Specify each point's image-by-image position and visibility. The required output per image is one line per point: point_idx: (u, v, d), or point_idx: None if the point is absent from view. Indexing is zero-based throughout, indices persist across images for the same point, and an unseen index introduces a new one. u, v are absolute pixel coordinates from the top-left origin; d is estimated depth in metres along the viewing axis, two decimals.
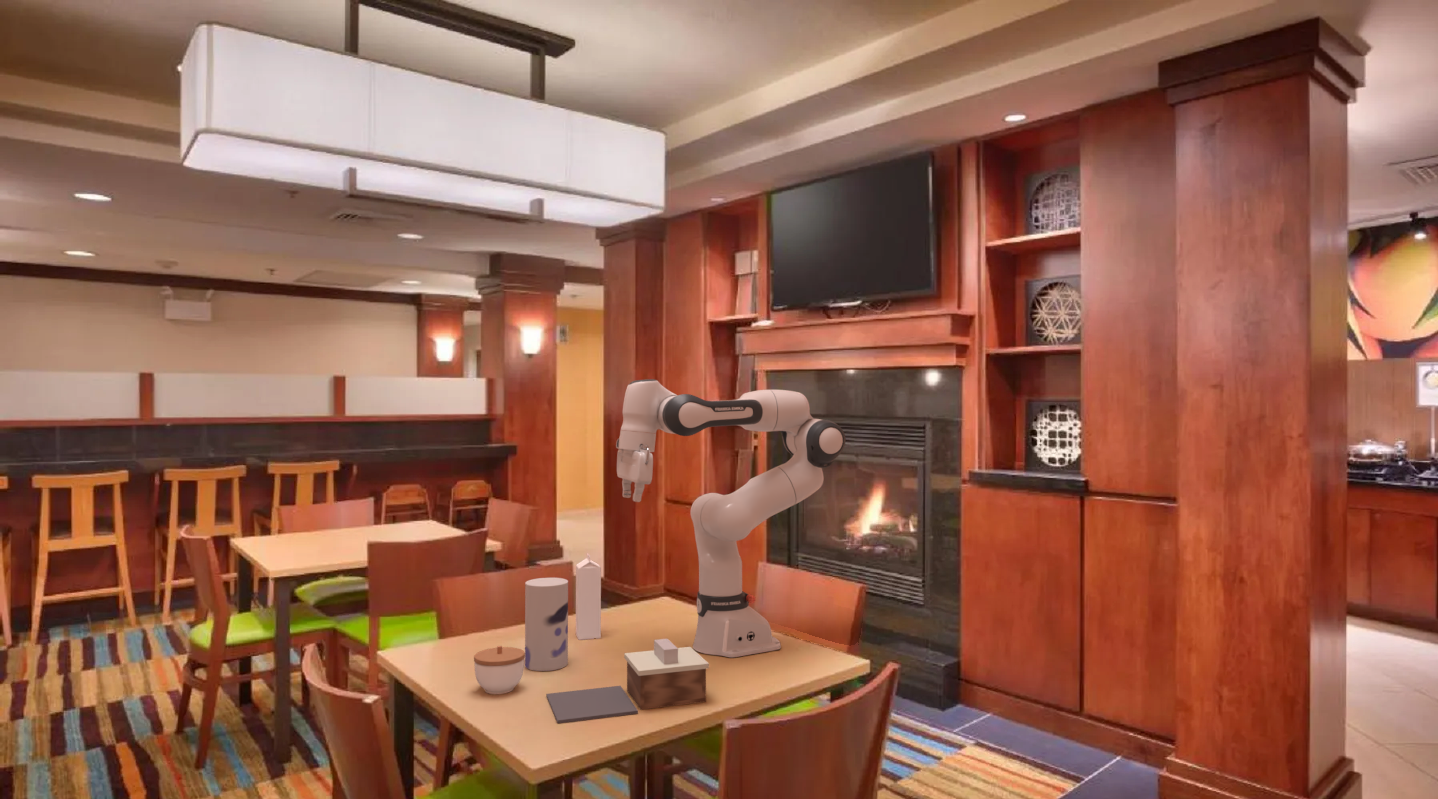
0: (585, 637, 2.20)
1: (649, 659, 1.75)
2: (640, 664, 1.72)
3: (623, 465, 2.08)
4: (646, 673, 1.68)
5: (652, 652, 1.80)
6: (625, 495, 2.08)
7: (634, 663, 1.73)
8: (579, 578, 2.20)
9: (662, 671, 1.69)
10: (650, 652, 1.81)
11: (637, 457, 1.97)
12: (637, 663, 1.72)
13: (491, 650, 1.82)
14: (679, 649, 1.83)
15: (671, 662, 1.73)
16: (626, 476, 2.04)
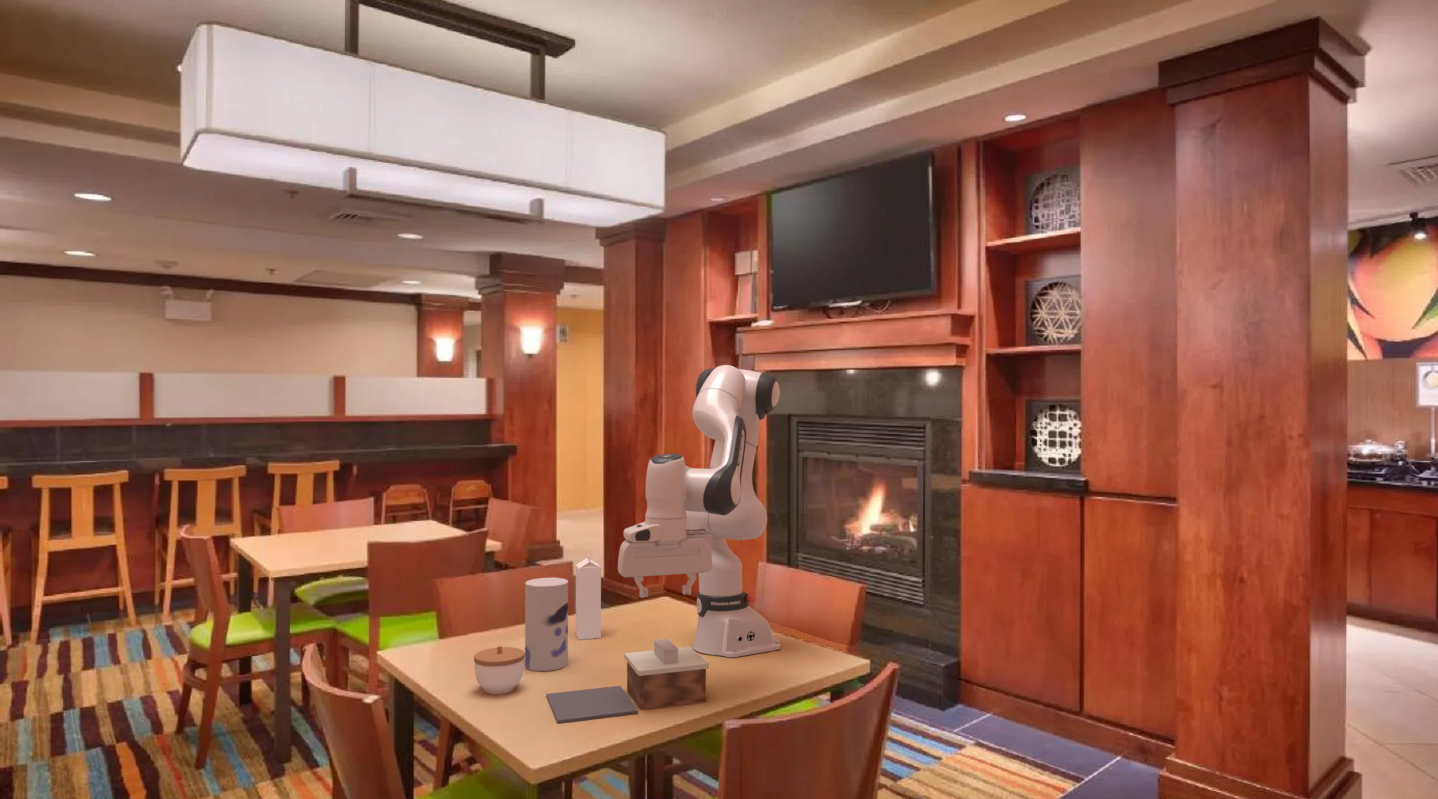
0: (585, 637, 2.20)
1: (649, 659, 1.75)
2: (640, 664, 1.72)
3: (648, 560, 1.73)
4: (646, 673, 1.68)
5: (652, 652, 1.80)
6: None
7: (634, 663, 1.73)
8: (579, 578, 2.20)
9: (662, 671, 1.69)
10: (650, 652, 1.81)
11: (702, 544, 1.77)
12: (637, 663, 1.72)
13: (491, 650, 1.82)
14: (679, 649, 1.83)
15: (671, 662, 1.73)
16: (667, 570, 1.75)
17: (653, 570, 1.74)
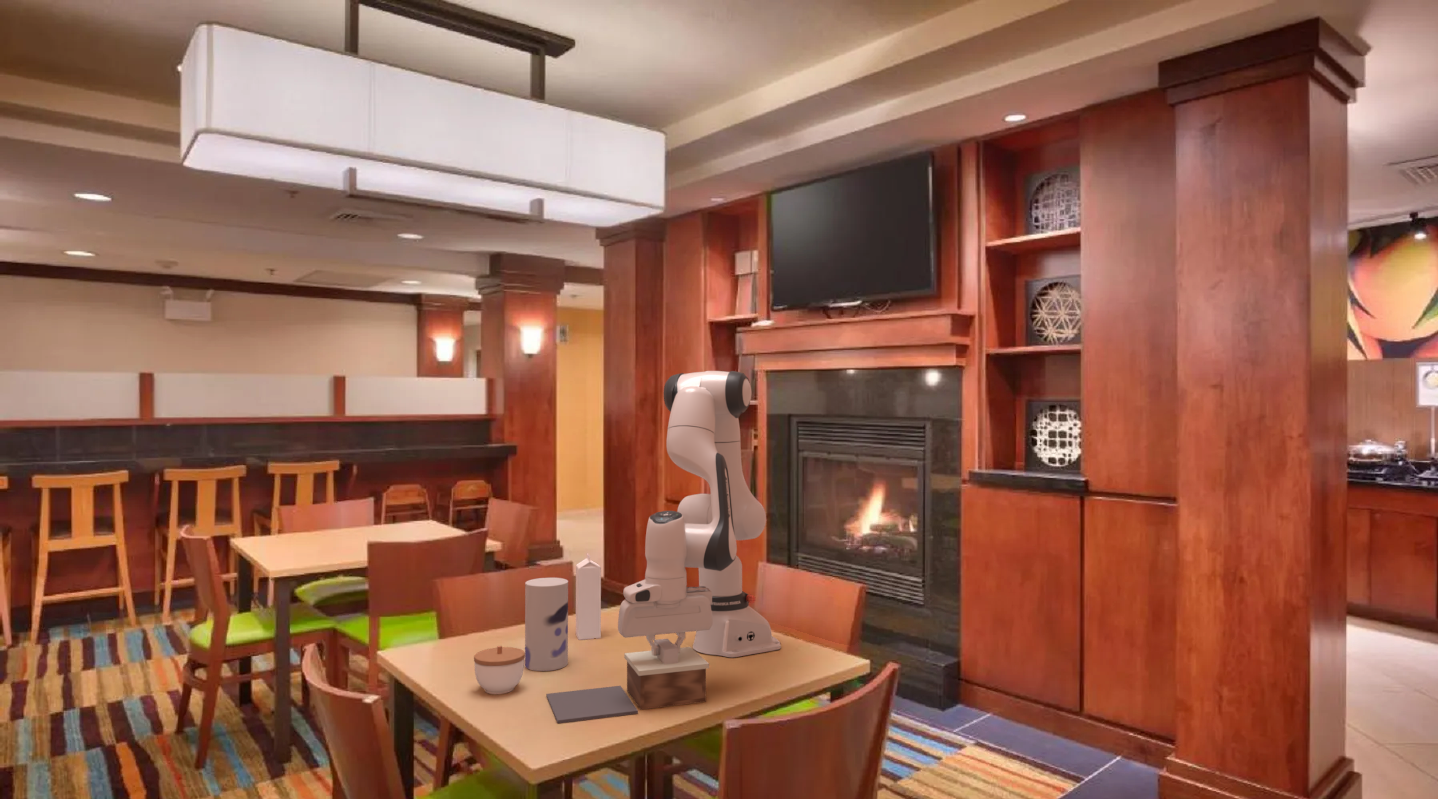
0: (585, 637, 2.20)
1: (650, 659, 1.75)
2: (641, 664, 1.72)
3: (648, 620, 1.73)
4: (646, 673, 1.68)
5: None
6: None
7: (634, 663, 1.73)
8: (579, 578, 2.20)
9: (662, 671, 1.69)
10: (650, 652, 1.81)
11: (702, 602, 1.77)
12: (637, 663, 1.72)
13: (491, 650, 1.82)
14: None
15: (671, 662, 1.73)
16: (667, 630, 1.75)
17: (653, 630, 1.74)
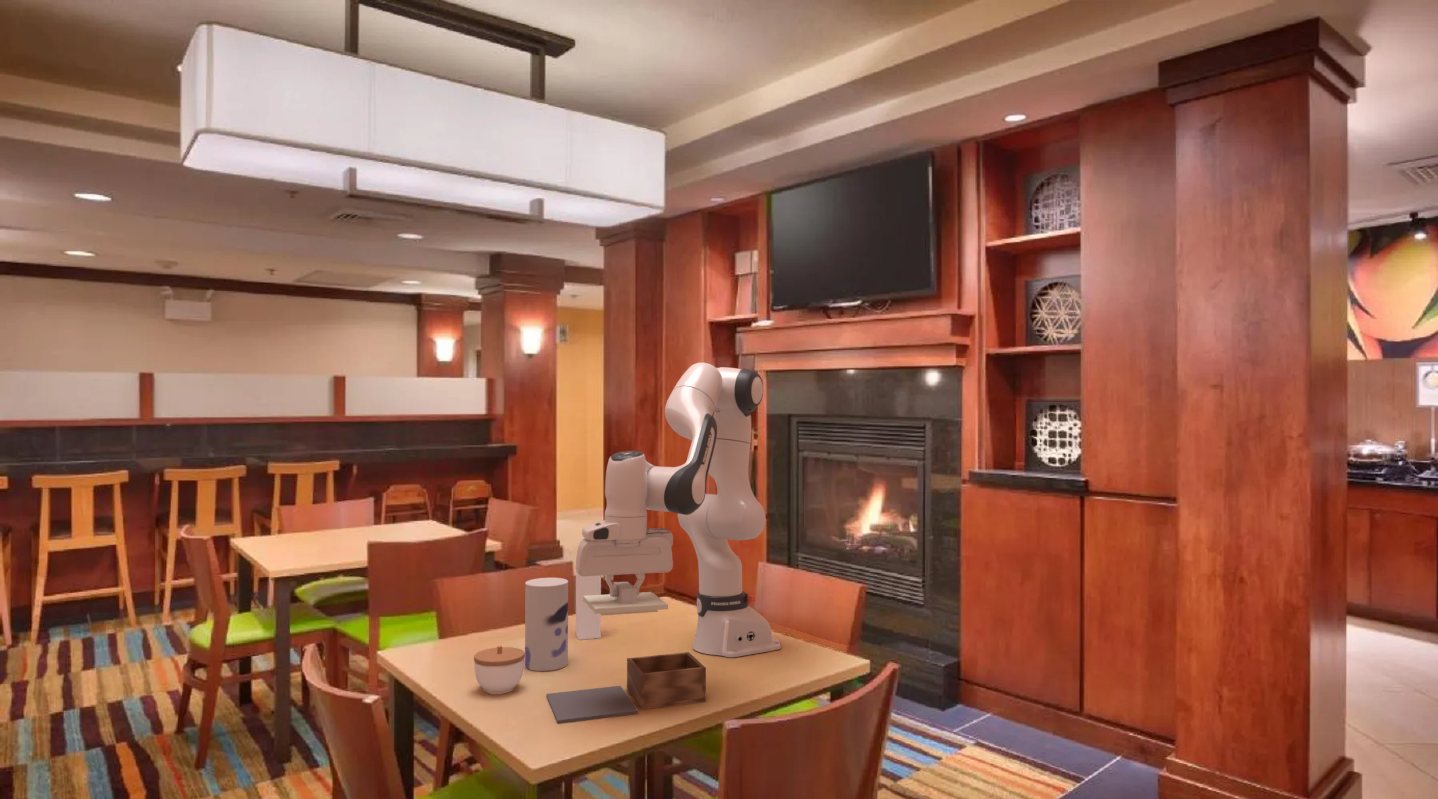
0: (585, 637, 2.20)
1: (608, 600, 1.72)
2: (598, 603, 1.69)
3: (607, 559, 1.70)
4: (603, 611, 1.65)
5: None
6: None
7: (592, 603, 1.69)
8: (579, 578, 2.20)
9: (620, 610, 1.66)
10: (609, 595, 1.77)
11: (662, 543, 1.74)
12: (595, 603, 1.69)
13: (491, 650, 1.82)
14: (639, 593, 1.79)
15: (629, 602, 1.69)
16: (626, 570, 1.71)
17: (611, 569, 1.70)
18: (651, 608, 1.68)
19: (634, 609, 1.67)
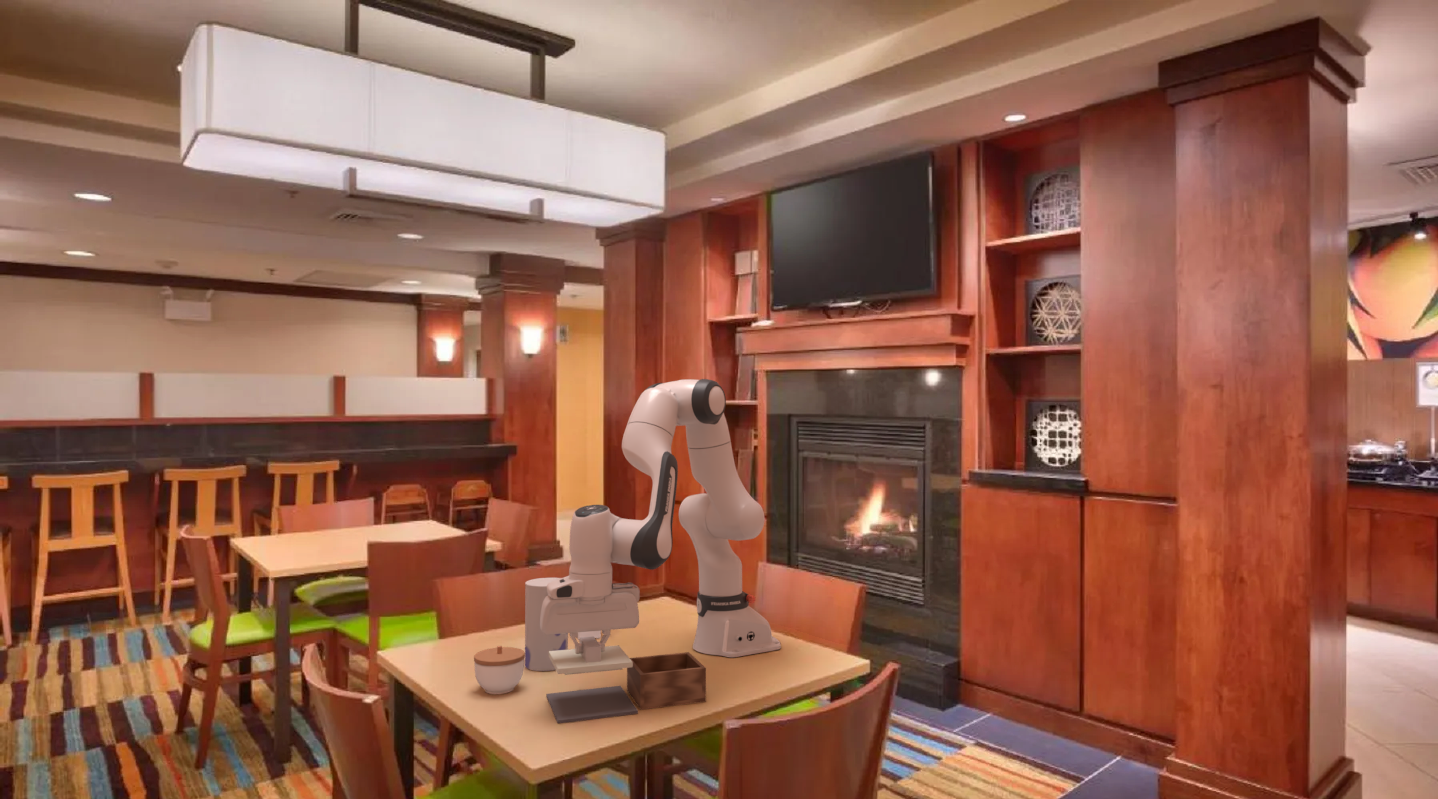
0: None
1: (573, 657, 1.70)
2: (562, 662, 1.67)
3: (571, 616, 1.68)
4: (566, 671, 1.63)
5: None
6: (582, 650, 1.70)
7: (555, 661, 1.67)
8: None
9: (583, 669, 1.64)
10: None
11: (628, 599, 1.72)
12: (558, 661, 1.67)
13: (491, 650, 1.82)
14: (606, 647, 1.77)
15: (594, 660, 1.67)
16: (591, 627, 1.69)
17: (576, 627, 1.68)
18: (615, 666, 1.66)
19: (598, 668, 1.65)
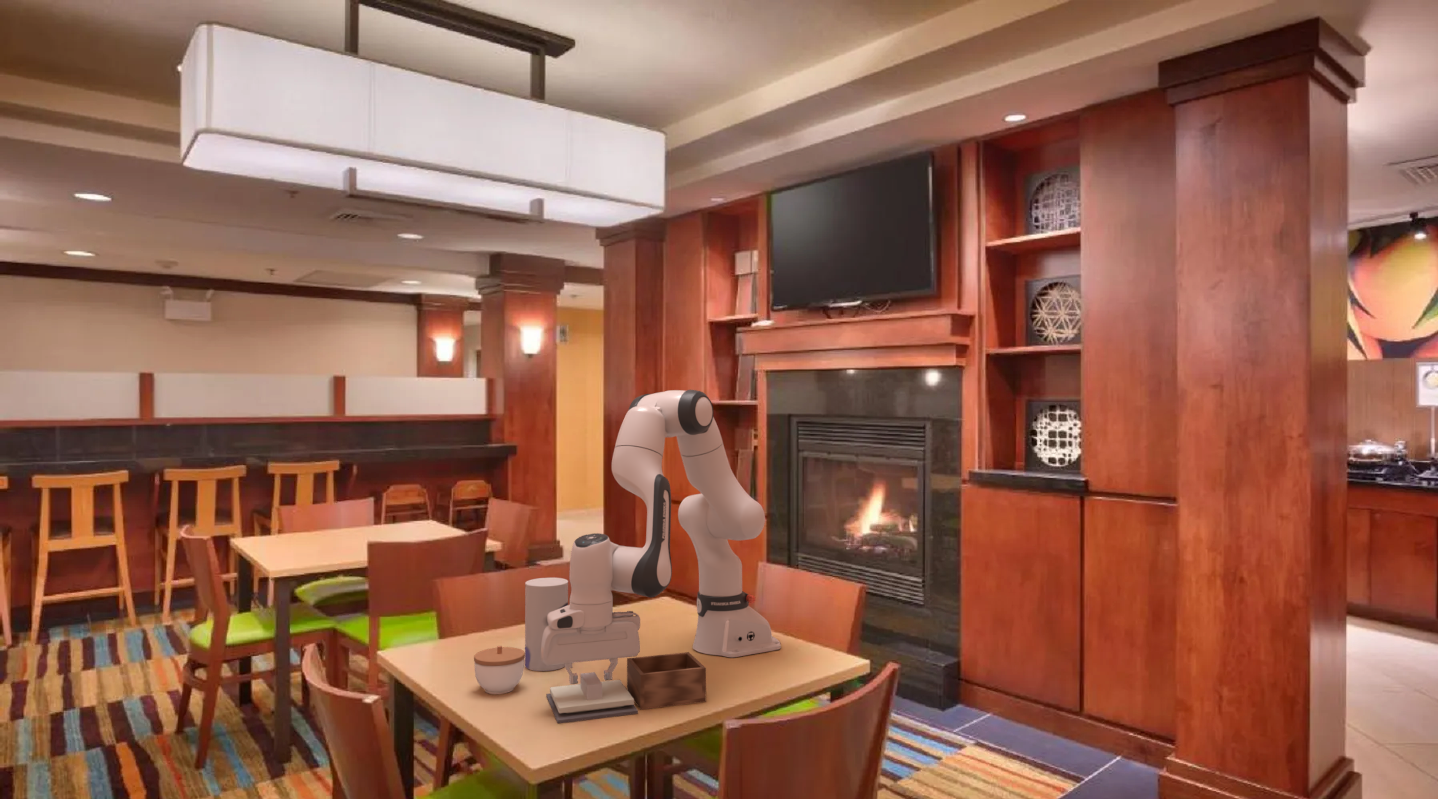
0: None
1: (574, 694, 1.70)
2: (563, 700, 1.67)
3: (572, 646, 1.68)
4: (567, 710, 1.63)
5: (579, 686, 1.75)
6: None
7: (557, 699, 1.67)
8: None
9: (584, 708, 1.64)
10: (577, 685, 1.75)
11: (629, 628, 1.72)
12: (560, 699, 1.67)
13: (491, 650, 1.82)
14: (607, 682, 1.77)
15: (595, 698, 1.67)
16: (592, 657, 1.69)
17: (577, 657, 1.68)
18: (616, 704, 1.66)
19: (599, 706, 1.65)
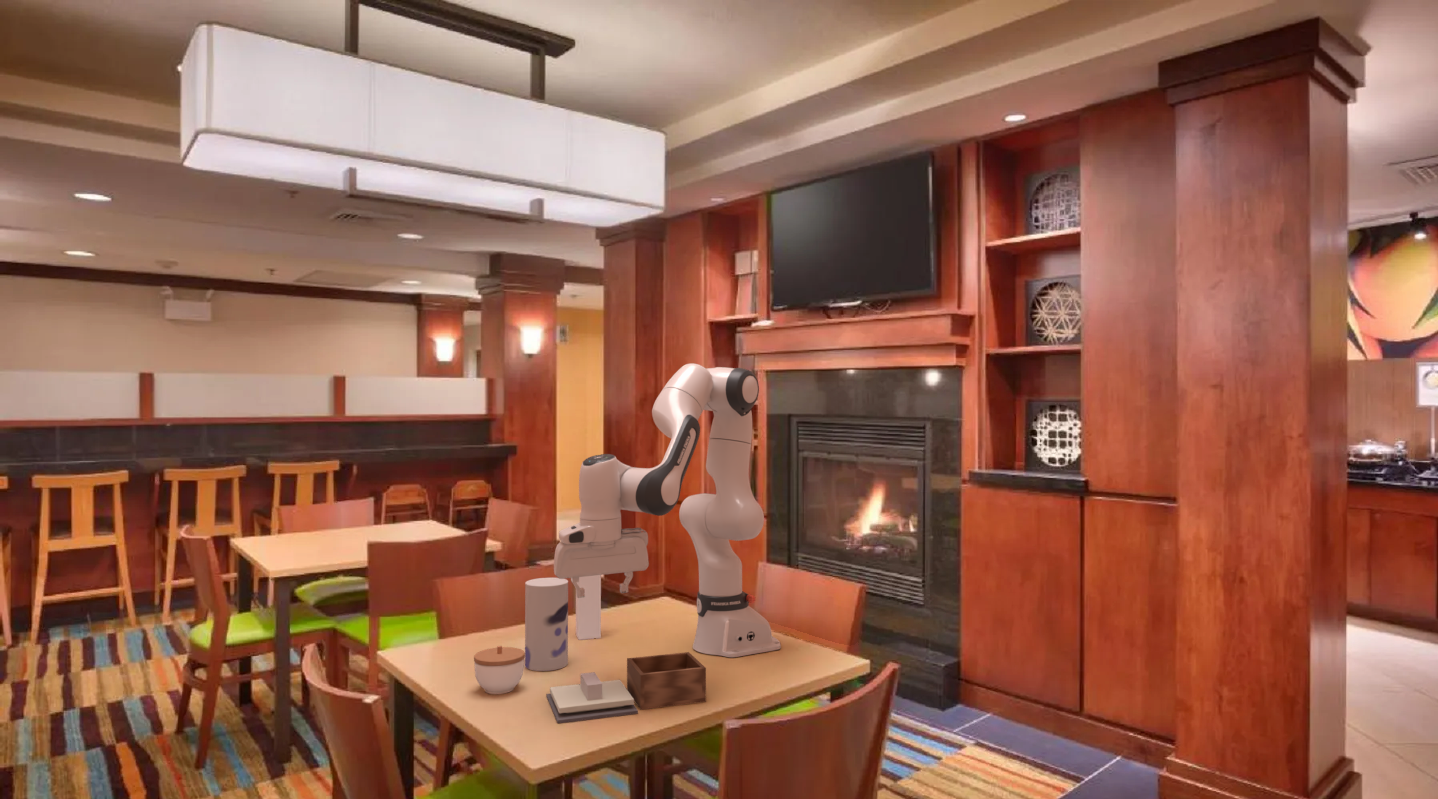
0: (585, 637, 2.20)
1: (574, 694, 1.70)
2: (563, 700, 1.67)
3: (583, 561, 1.75)
4: (567, 710, 1.63)
5: (579, 686, 1.75)
6: None
7: (557, 699, 1.67)
8: (579, 578, 2.20)
9: (584, 708, 1.64)
10: (577, 685, 1.75)
11: (637, 543, 1.79)
12: (560, 699, 1.67)
13: (491, 650, 1.82)
14: (607, 682, 1.77)
15: (595, 698, 1.67)
16: (603, 570, 1.77)
17: (588, 571, 1.75)
18: (616, 704, 1.66)
19: (599, 706, 1.65)
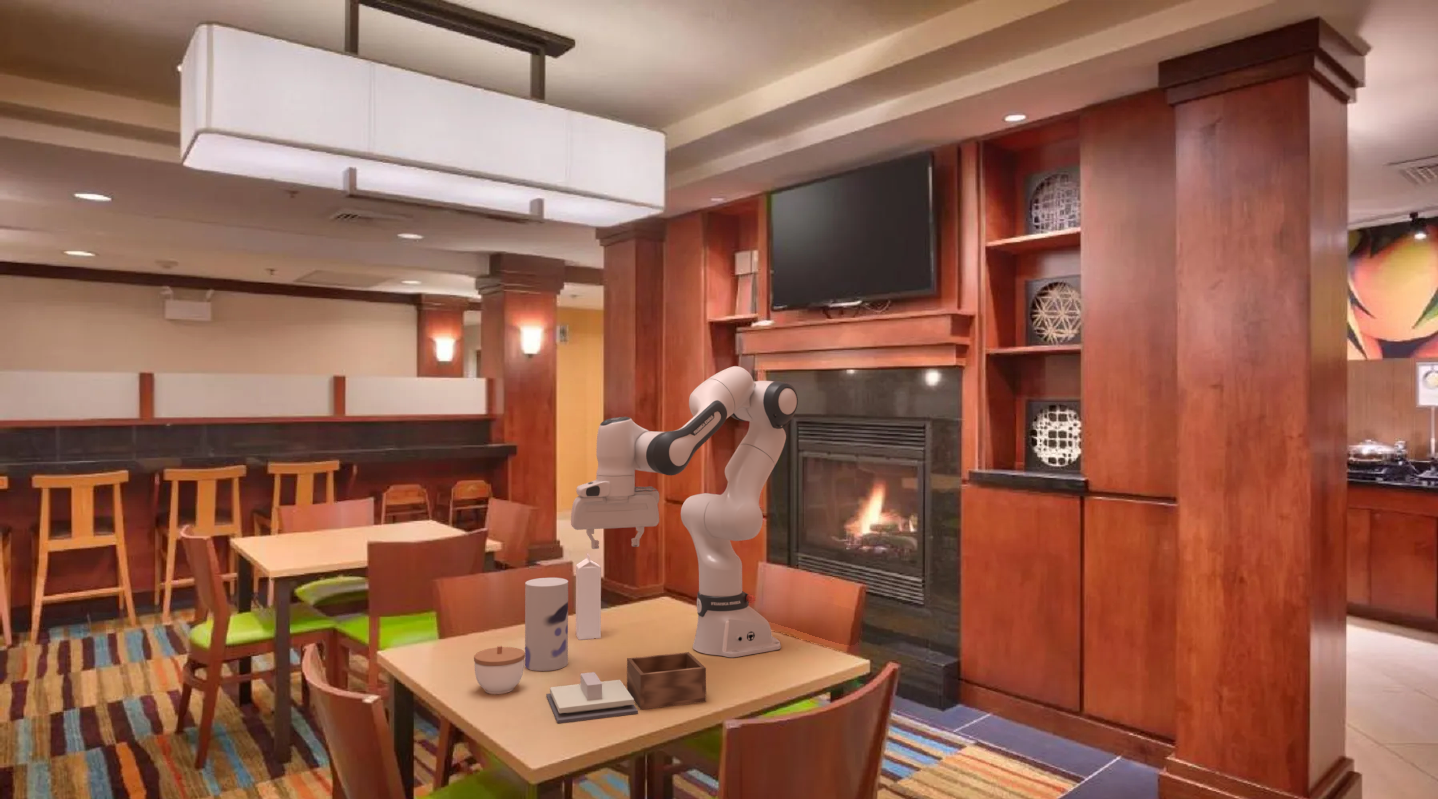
0: (585, 637, 2.20)
1: (574, 694, 1.70)
2: (563, 700, 1.67)
3: (599, 514, 1.88)
4: (567, 710, 1.63)
5: (579, 686, 1.75)
6: None
7: (557, 699, 1.67)
8: (579, 578, 2.20)
9: (584, 708, 1.64)
10: (577, 685, 1.75)
11: (649, 500, 1.92)
12: (560, 699, 1.67)
13: (491, 650, 1.82)
14: (607, 682, 1.77)
15: (595, 698, 1.67)
16: (616, 524, 1.89)
17: (603, 523, 1.88)
18: (616, 704, 1.66)
19: (599, 706, 1.65)
